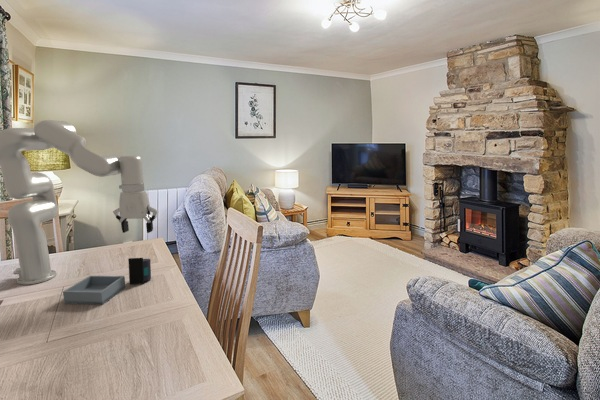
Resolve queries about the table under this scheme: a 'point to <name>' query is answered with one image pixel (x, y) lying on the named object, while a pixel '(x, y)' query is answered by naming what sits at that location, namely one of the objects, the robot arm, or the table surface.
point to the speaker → (139, 270)
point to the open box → (94, 290)
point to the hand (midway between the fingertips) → (137, 231)
